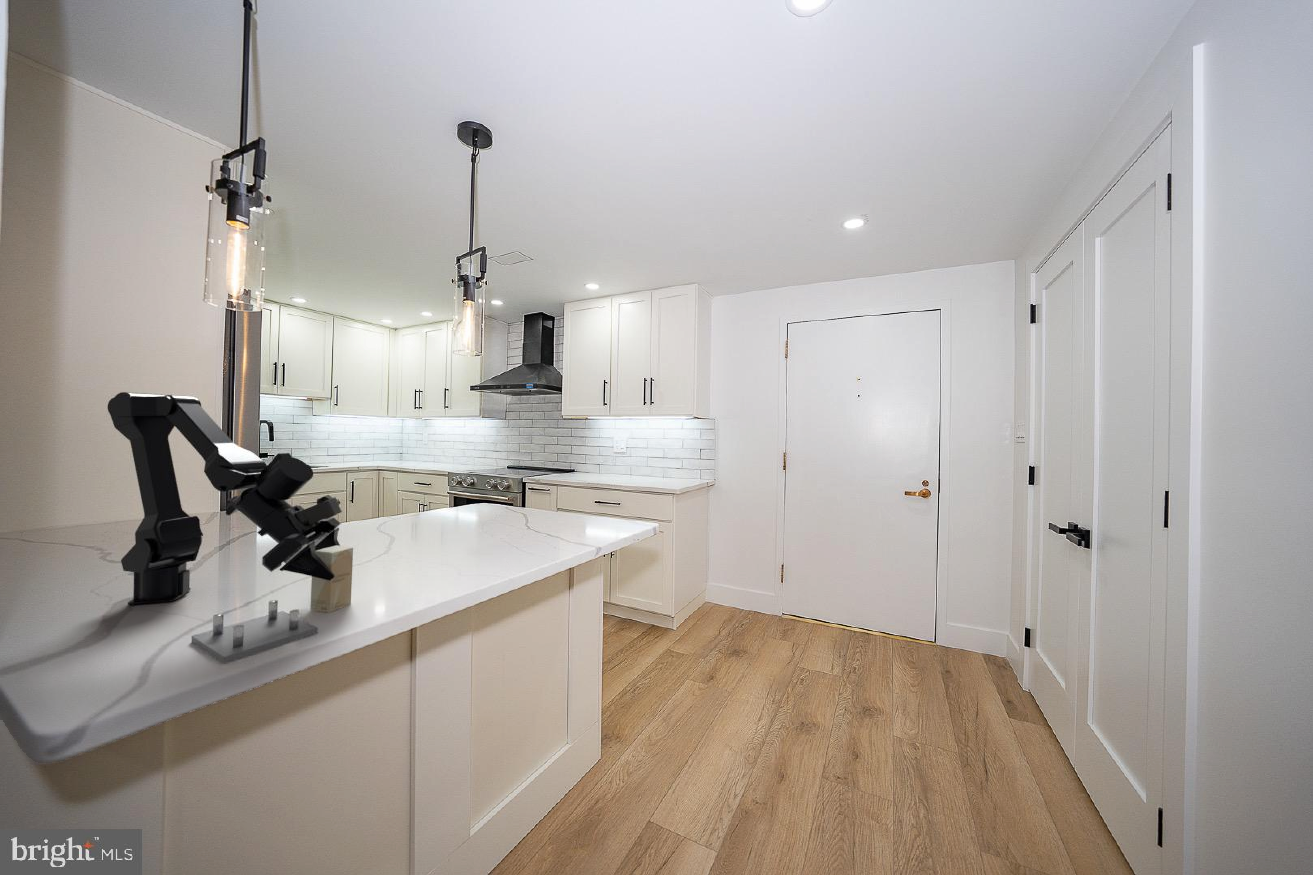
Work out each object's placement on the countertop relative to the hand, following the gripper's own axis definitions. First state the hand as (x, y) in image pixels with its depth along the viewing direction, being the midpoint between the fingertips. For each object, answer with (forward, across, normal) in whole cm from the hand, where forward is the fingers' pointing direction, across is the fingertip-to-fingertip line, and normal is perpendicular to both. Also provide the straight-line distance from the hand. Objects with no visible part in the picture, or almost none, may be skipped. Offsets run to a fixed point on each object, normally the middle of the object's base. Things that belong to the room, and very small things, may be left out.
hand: (340, 571), depth 89 cm
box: (+4, 0, +6) cm, 7 cm away
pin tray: (-1, -12, +10) cm, 16 cm away
